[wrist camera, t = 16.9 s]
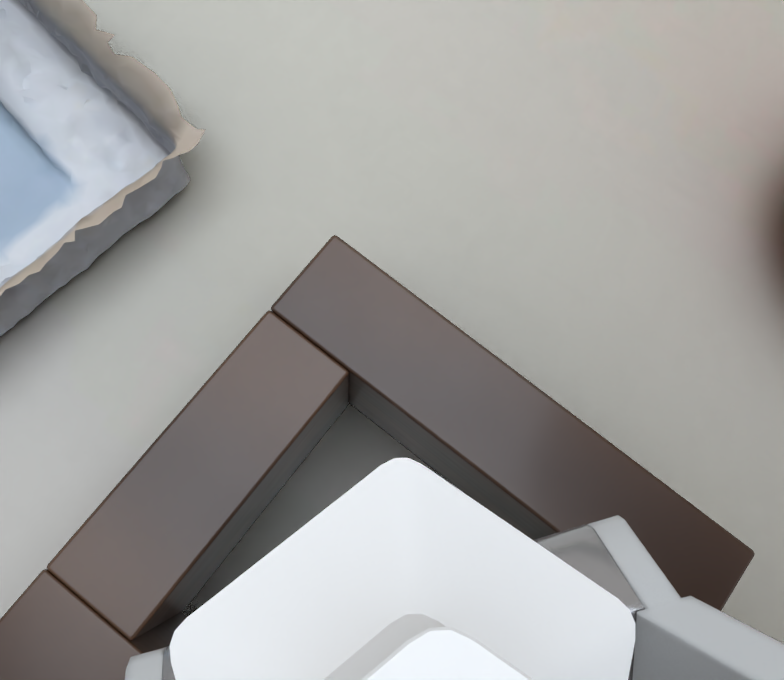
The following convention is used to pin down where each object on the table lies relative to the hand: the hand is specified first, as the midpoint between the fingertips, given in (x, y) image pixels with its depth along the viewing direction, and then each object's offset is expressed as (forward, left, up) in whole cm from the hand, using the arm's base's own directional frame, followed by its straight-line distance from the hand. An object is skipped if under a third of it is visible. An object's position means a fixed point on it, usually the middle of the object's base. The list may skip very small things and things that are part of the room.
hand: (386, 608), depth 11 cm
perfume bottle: (0, +1, -9) cm, 9 cm away
